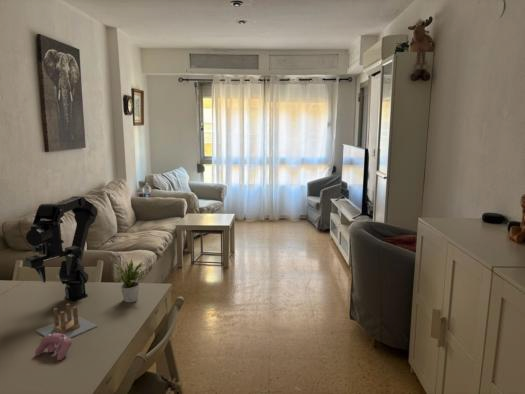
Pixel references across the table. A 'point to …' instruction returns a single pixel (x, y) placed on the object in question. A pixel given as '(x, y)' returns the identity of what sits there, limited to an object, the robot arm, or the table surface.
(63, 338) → the video game controller
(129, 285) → the house plant
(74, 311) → the stool
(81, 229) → the robot arm
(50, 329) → the mat
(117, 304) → the table surface
